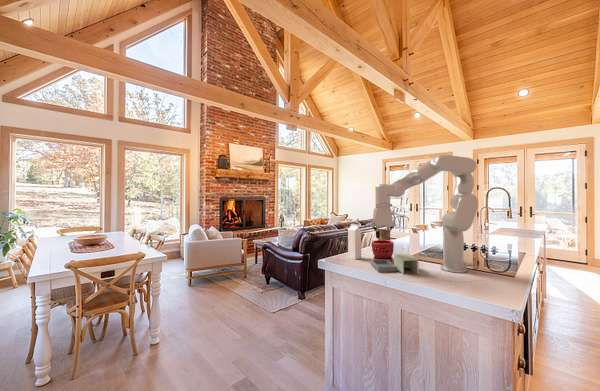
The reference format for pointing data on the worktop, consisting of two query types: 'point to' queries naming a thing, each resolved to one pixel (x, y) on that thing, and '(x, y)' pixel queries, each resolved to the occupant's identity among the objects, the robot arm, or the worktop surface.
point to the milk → (354, 242)
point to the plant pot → (382, 250)
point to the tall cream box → (406, 262)
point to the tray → (383, 266)
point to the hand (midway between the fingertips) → (382, 237)
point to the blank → (384, 234)
